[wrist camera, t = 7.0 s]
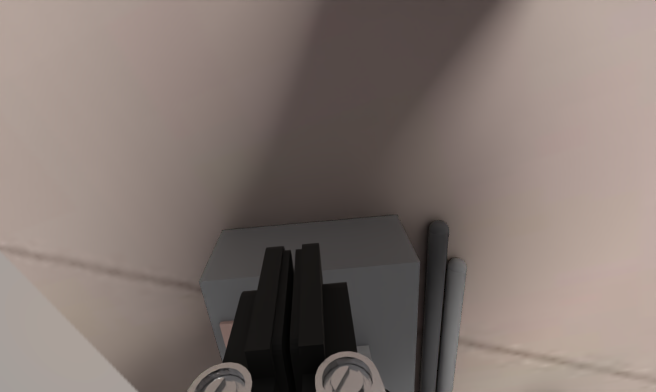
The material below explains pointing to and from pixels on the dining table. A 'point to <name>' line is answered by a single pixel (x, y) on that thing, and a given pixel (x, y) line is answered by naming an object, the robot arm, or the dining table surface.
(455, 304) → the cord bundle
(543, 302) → the dining table surface
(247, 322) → the robot arm
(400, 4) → the dining table surface
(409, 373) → the switch box
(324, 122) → the dining table surface
